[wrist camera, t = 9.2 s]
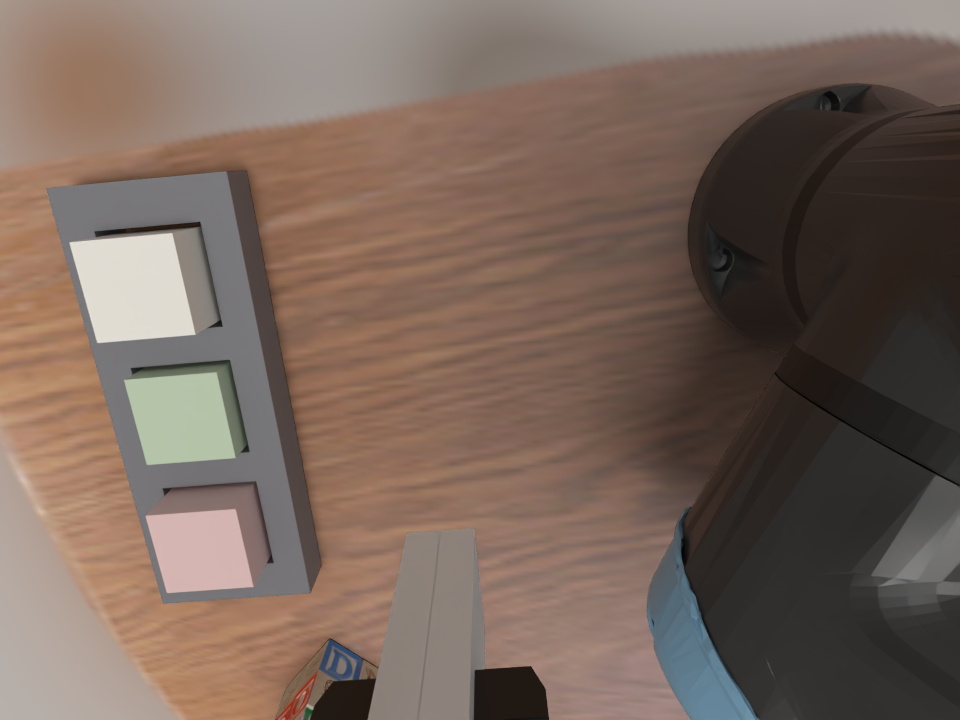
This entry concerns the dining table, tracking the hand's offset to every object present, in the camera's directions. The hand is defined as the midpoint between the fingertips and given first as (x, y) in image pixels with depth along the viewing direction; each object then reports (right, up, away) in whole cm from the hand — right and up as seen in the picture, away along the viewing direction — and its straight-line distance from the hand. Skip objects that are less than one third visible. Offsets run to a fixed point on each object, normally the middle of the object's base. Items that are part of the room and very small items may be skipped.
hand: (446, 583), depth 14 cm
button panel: (-17, +3, +27) cm, 32 cm away
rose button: (-16, -5, +28) cm, 32 cm away
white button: (-17, +10, +23) cm, 30 cm away
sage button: (-17, +3, +27) cm, 31 cm away
